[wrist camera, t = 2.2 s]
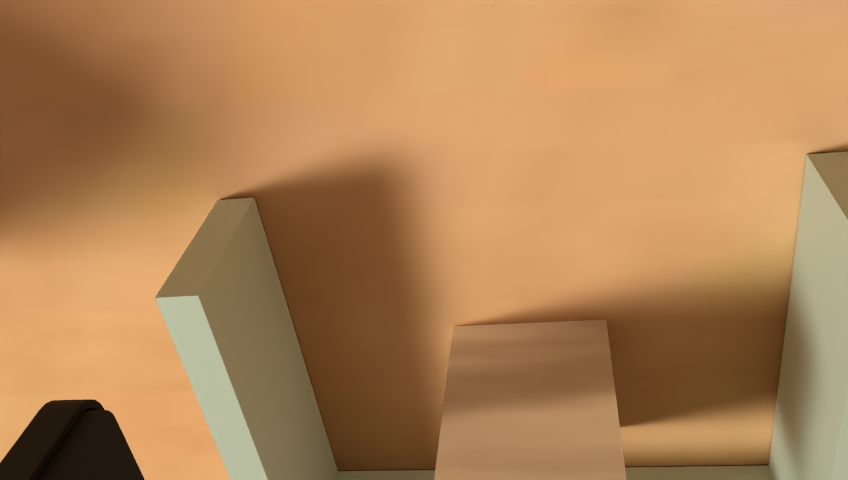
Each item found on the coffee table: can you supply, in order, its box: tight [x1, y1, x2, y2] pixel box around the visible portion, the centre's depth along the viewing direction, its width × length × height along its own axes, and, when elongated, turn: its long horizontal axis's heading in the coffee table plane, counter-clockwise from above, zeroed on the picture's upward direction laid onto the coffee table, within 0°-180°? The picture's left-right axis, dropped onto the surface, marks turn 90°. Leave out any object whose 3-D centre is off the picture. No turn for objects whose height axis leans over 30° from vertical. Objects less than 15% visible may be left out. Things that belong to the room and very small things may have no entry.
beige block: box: [434, 319, 626, 480], centre depth 24 cm, size 5×5×8 cm
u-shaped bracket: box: [155, 151, 848, 480], centre depth 25 cm, size 14×18×5 cm
